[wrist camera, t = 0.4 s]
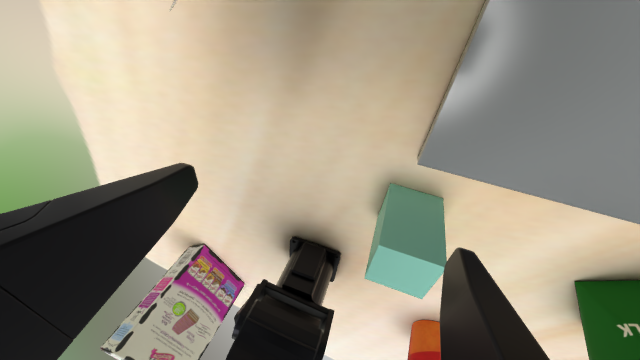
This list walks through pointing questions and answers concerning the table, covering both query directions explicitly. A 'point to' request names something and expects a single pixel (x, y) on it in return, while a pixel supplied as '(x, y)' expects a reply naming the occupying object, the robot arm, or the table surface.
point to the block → (408, 242)
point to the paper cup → (425, 341)
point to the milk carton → (610, 318)
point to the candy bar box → (178, 311)
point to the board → (547, 104)
